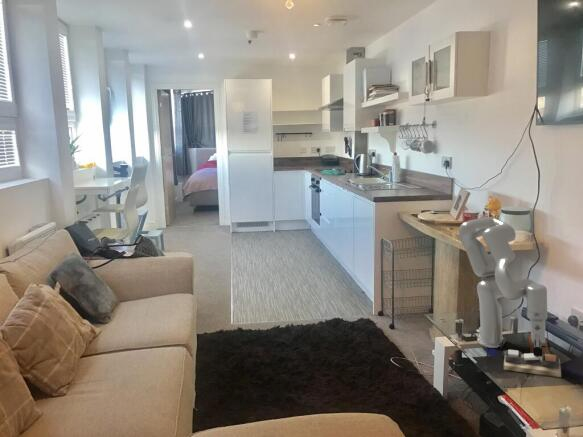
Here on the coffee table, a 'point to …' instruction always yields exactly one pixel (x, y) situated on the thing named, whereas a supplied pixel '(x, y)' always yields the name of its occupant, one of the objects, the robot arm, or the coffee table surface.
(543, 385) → the coffee table surface
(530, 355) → the rocker
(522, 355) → the switch panel
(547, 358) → the button right
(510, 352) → the button left
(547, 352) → the sunglasses case
